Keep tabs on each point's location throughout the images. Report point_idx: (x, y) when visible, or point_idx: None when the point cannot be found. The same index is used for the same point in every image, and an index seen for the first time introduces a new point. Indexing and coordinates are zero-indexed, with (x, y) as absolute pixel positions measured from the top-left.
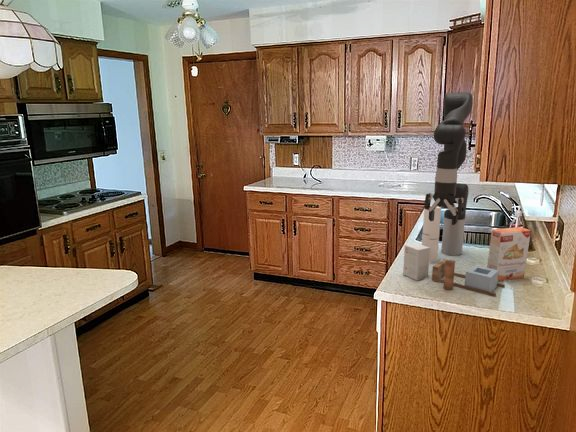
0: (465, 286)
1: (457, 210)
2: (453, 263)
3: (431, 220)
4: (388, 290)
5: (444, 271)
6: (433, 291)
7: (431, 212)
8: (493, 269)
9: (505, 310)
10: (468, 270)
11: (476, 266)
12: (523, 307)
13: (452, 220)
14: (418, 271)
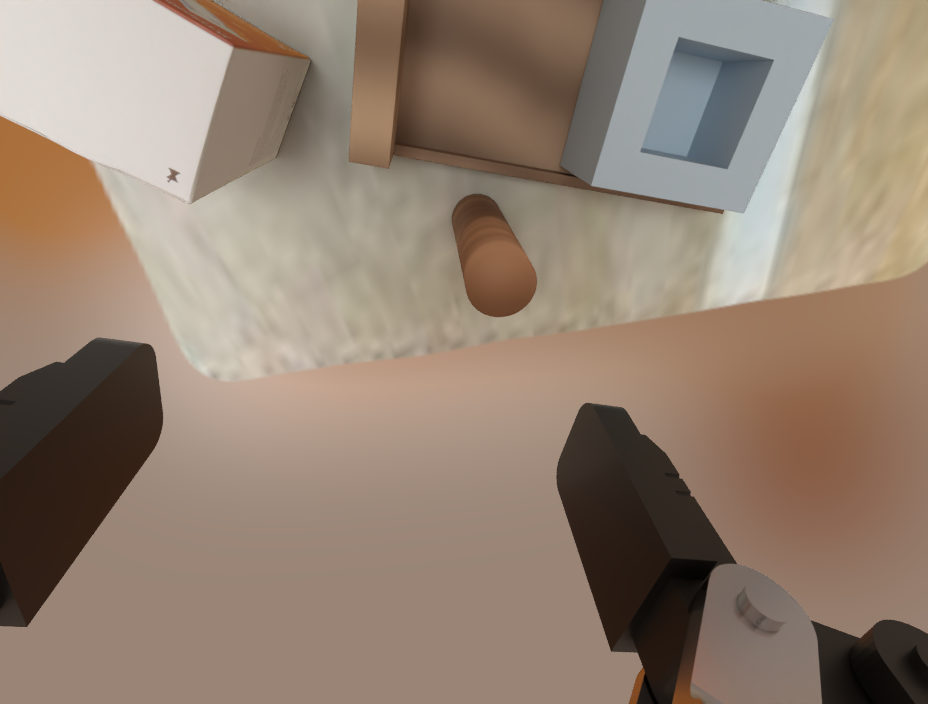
0: (570, 186)
1: (818, 697)
2: (526, 302)
3: (153, 446)
4: (224, 359)
5: (407, 2)
6: (412, 261)
7: (16, 615)
8: (797, 15)
9: (732, 299)
10: (607, 152)
11: (670, 8)
12: (820, 227)
13: (587, 546)
14: (261, 160)
